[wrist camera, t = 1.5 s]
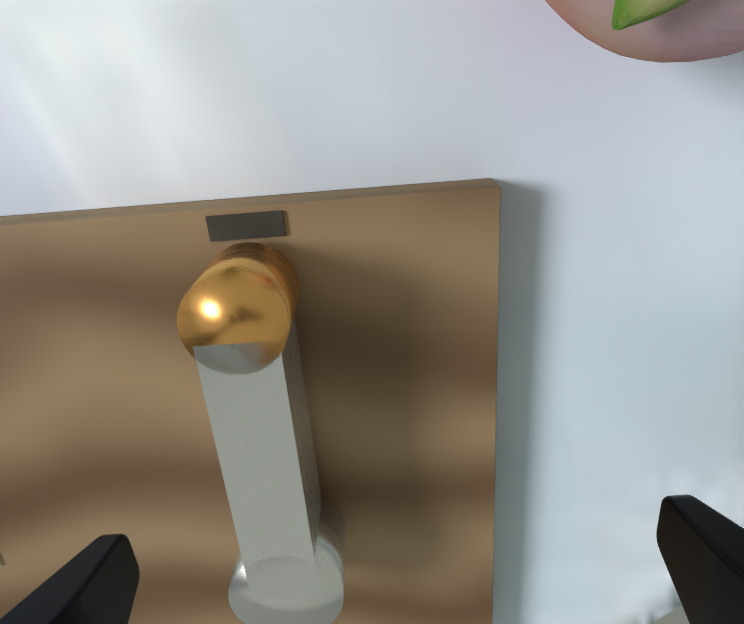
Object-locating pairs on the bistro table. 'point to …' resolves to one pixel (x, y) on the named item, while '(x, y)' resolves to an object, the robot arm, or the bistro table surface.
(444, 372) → the board
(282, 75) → the bistro table surface
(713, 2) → the decorative fruit
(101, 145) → the bistro table surface
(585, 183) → the bistro table surface
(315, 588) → the lever
